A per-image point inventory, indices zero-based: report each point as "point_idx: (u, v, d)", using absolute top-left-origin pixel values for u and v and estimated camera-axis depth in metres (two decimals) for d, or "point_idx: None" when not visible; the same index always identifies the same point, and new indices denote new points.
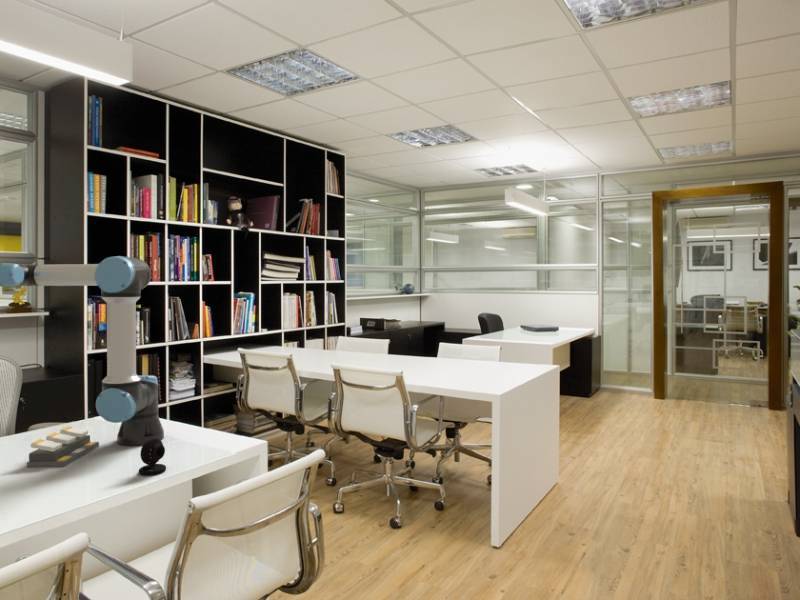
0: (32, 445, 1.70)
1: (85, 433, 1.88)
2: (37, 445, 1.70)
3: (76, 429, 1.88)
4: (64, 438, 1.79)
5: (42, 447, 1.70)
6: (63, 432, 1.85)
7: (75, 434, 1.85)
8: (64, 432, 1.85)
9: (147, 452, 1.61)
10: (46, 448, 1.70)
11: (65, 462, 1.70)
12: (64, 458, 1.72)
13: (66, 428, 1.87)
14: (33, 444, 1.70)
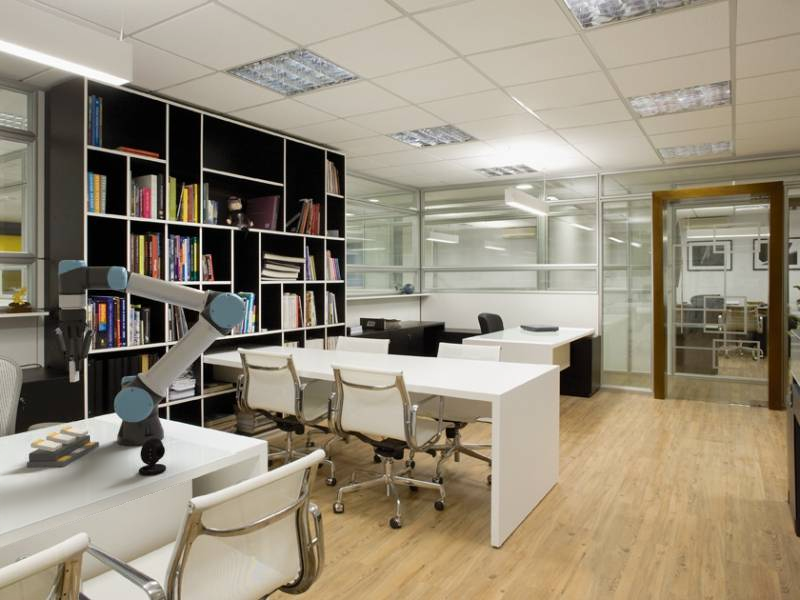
0: (32, 445, 1.70)
1: (85, 433, 1.88)
2: (37, 445, 1.70)
3: (76, 429, 1.88)
4: (64, 438, 1.79)
5: (42, 447, 1.70)
6: (63, 432, 1.85)
7: (75, 434, 1.85)
8: (64, 432, 1.85)
9: (147, 452, 1.61)
10: (46, 448, 1.70)
11: (65, 462, 1.70)
12: (64, 458, 1.72)
13: (66, 428, 1.87)
14: (33, 444, 1.70)
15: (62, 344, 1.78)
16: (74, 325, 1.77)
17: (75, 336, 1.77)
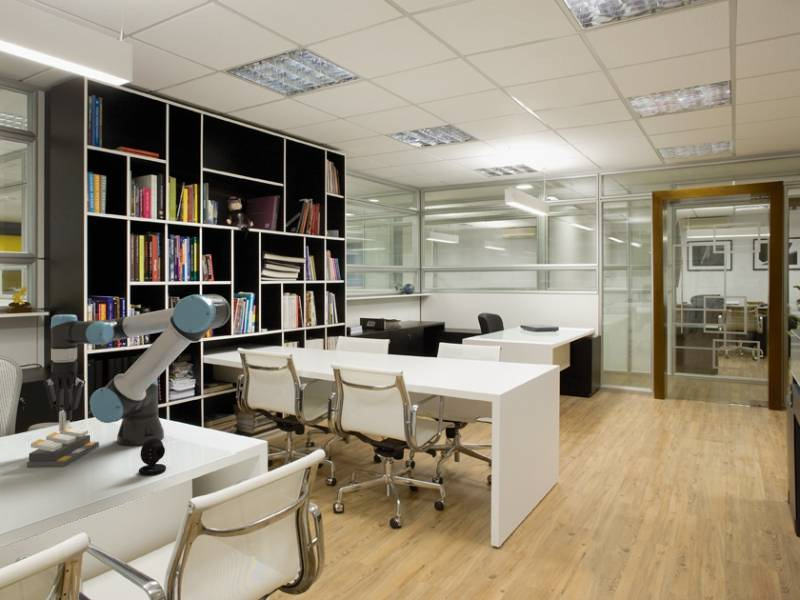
0: (32, 445, 1.70)
1: (85, 433, 1.88)
2: (37, 445, 1.70)
3: (76, 429, 1.88)
4: (64, 438, 1.79)
5: (42, 447, 1.70)
6: (63, 432, 1.85)
7: (75, 434, 1.85)
8: (64, 432, 1.85)
9: (147, 452, 1.61)
10: (46, 448, 1.70)
11: (65, 462, 1.70)
12: (64, 458, 1.72)
13: None
14: (33, 444, 1.70)
15: (53, 394, 1.86)
16: (65, 377, 1.85)
17: (66, 388, 1.85)
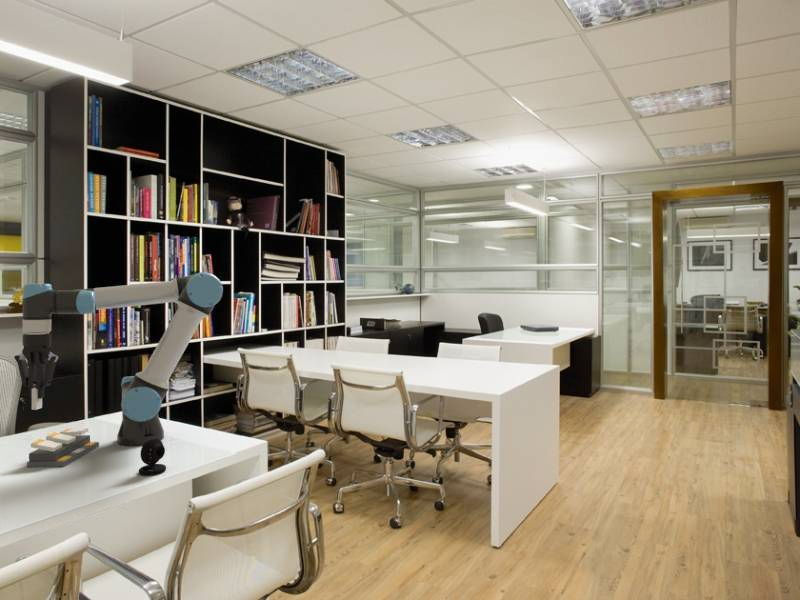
0: (32, 445, 1.70)
1: (85, 430, 1.88)
2: (37, 445, 1.70)
3: (76, 429, 1.88)
4: (64, 438, 1.79)
5: (42, 447, 1.70)
6: None
7: (75, 433, 1.85)
8: (64, 434, 1.85)
9: (147, 452, 1.61)
10: (46, 448, 1.70)
11: (65, 462, 1.70)
12: (64, 458, 1.72)
13: (65, 430, 1.87)
14: (33, 444, 1.70)
15: (25, 370, 1.72)
16: (37, 351, 1.71)
17: (38, 362, 1.71)
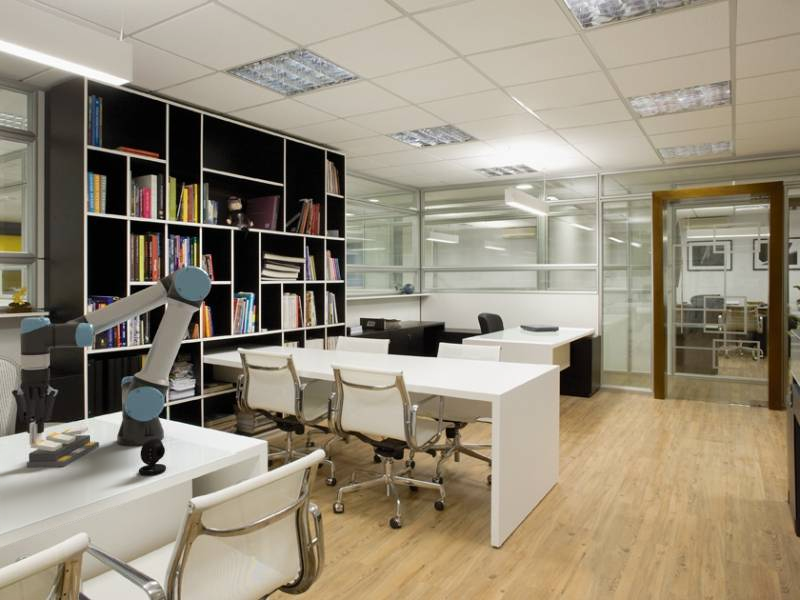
0: (32, 445, 1.70)
1: (85, 429, 1.88)
2: (37, 445, 1.70)
3: (76, 429, 1.88)
4: (64, 438, 1.79)
5: (42, 447, 1.70)
6: None
7: (75, 432, 1.85)
8: (64, 434, 1.85)
9: (147, 452, 1.61)
10: (46, 448, 1.70)
11: (65, 462, 1.70)
12: (64, 458, 1.72)
13: (65, 431, 1.87)
14: (33, 444, 1.70)
15: (23, 405, 1.71)
16: (36, 386, 1.70)
17: (37, 397, 1.70)
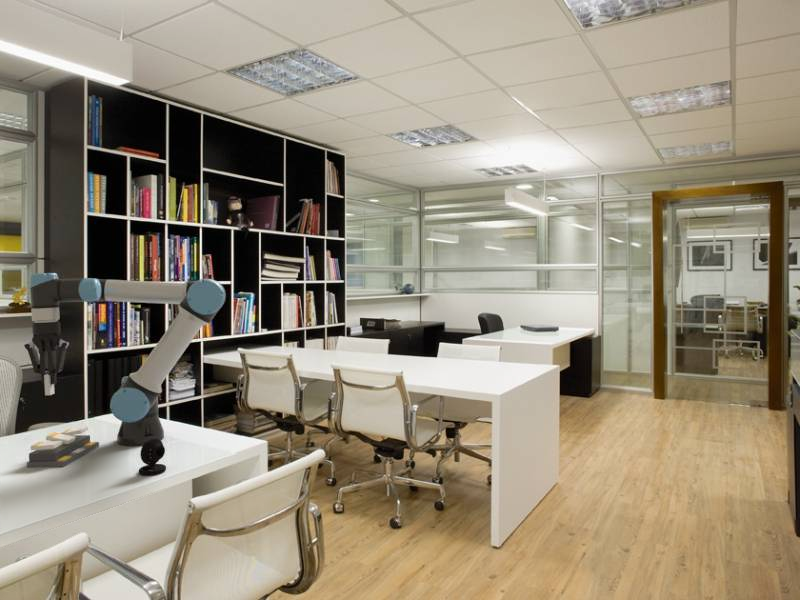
0: (32, 448, 1.70)
1: (85, 429, 1.88)
2: (37, 446, 1.70)
3: (76, 429, 1.88)
4: (64, 438, 1.79)
5: (42, 447, 1.70)
6: None
7: (75, 432, 1.85)
8: (64, 434, 1.85)
9: (147, 452, 1.61)
10: (46, 447, 1.70)
11: (65, 462, 1.70)
12: (64, 458, 1.72)
13: (65, 431, 1.87)
14: (33, 446, 1.70)
15: (36, 358, 1.77)
16: (48, 338, 1.76)
17: (49, 349, 1.76)
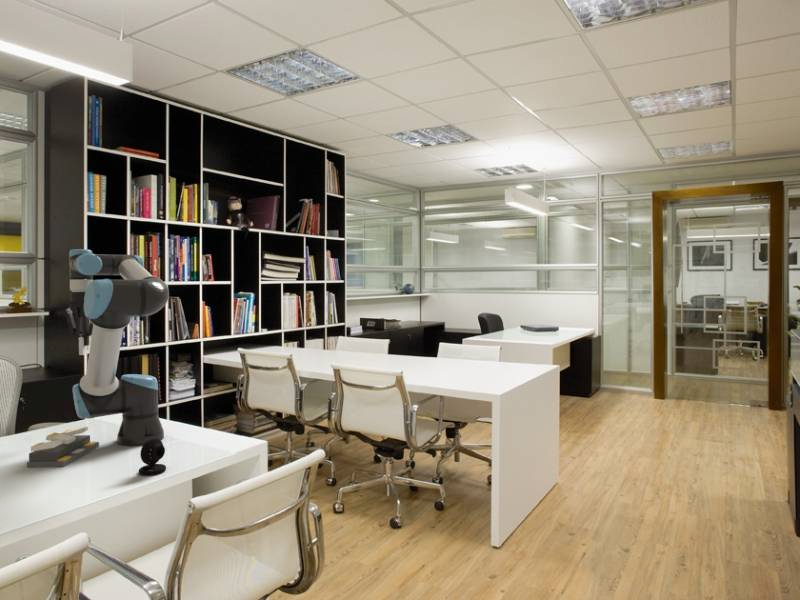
0: (32, 449, 1.70)
1: (85, 429, 1.88)
2: (37, 447, 1.70)
3: (76, 429, 1.88)
4: (64, 438, 1.79)
5: (42, 447, 1.70)
6: None
7: (75, 432, 1.85)
8: (64, 434, 1.85)
9: (147, 452, 1.61)
10: (46, 446, 1.70)
11: (65, 462, 1.70)
12: (64, 458, 1.72)
13: (65, 431, 1.87)
14: (33, 447, 1.70)
15: (72, 322, 2.06)
16: (83, 306, 2.05)
17: (84, 315, 2.04)
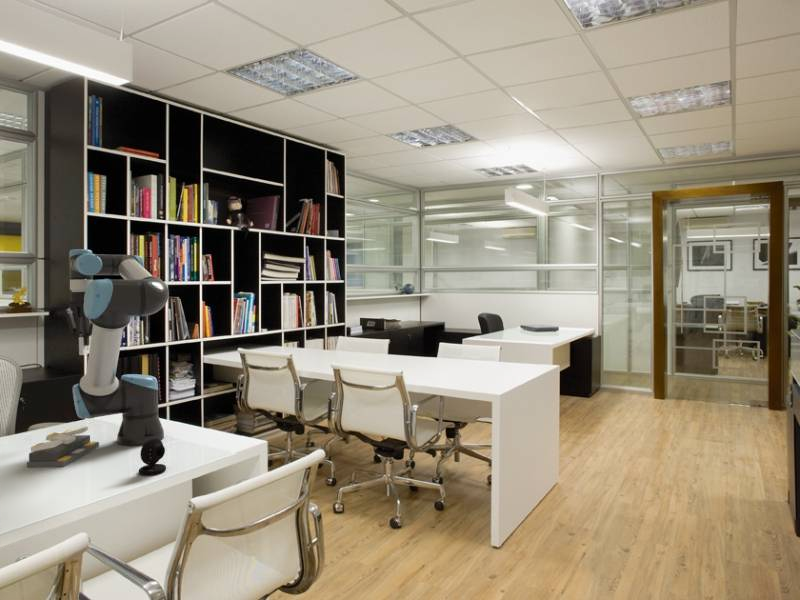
0: (32, 449, 1.70)
1: (85, 429, 1.88)
2: (37, 447, 1.70)
3: (76, 429, 1.88)
4: (64, 438, 1.79)
5: (42, 447, 1.70)
6: None
7: (75, 432, 1.85)
8: None
9: (147, 452, 1.61)
10: (46, 446, 1.70)
11: (65, 462, 1.70)
12: (64, 458, 1.72)
13: (65, 431, 1.87)
14: (33, 448, 1.70)
15: (72, 322, 2.06)
16: (83, 306, 2.05)
17: (84, 315, 2.04)
